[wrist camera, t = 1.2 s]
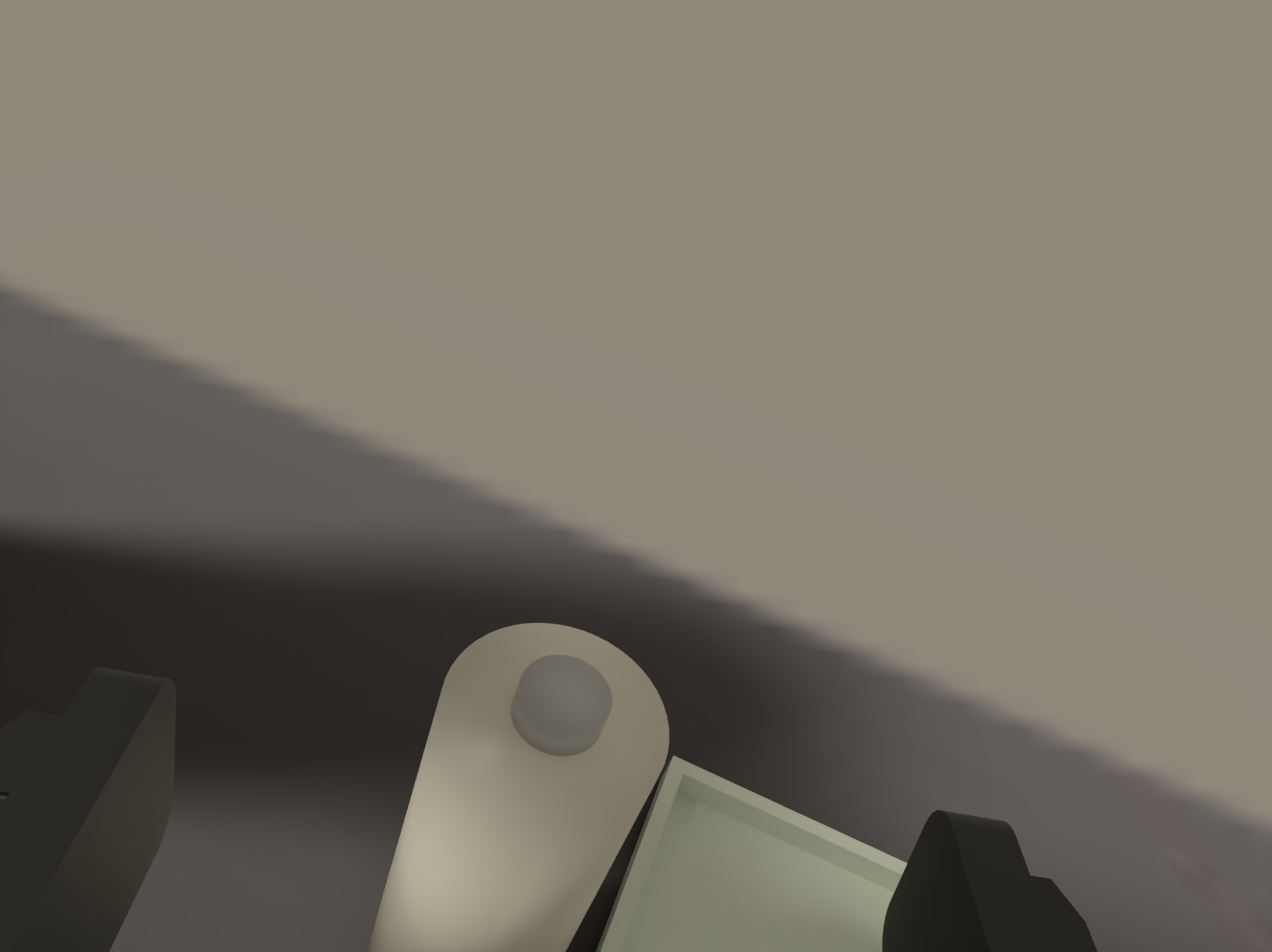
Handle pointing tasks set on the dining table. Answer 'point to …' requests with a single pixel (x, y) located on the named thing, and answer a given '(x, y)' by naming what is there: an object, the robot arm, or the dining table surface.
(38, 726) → the robot arm
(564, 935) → the battery cell
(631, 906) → the tray
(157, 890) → the dining table surface
